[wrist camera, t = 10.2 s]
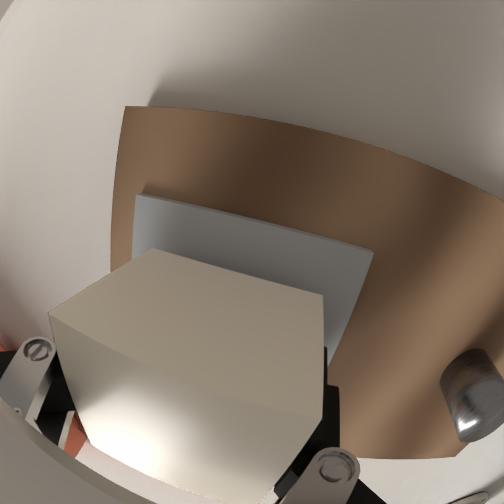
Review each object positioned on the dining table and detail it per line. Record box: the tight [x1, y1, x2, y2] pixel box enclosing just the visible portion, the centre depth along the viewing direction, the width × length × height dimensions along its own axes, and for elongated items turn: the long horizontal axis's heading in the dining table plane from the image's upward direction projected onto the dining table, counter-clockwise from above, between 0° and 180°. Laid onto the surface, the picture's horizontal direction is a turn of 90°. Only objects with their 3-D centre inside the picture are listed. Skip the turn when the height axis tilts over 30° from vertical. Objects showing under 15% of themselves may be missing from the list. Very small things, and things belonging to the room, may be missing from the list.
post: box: [440, 348, 504, 443], centre depth 8 cm, size 3×3×4 cm
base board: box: [111, 106, 504, 459], centre depth 12 cm, size 24×16×2 cm, turn 78°
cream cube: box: [48, 248, 324, 504], centre depth 8 cm, size 6×6×5 cm
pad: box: [132, 193, 374, 365], centre depth 11 cm, size 9×9×1 cm
